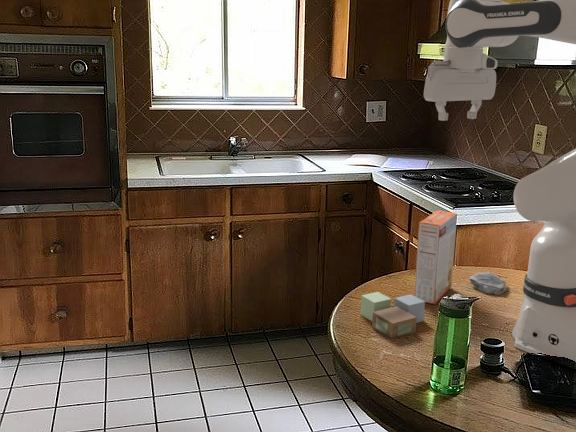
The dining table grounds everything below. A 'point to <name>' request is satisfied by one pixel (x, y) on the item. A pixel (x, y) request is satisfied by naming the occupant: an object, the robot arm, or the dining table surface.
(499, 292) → the fossil
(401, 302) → the slate blue block
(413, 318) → the walnut slab
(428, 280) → the cracker box
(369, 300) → the sage green block
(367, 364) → the dining table surface
